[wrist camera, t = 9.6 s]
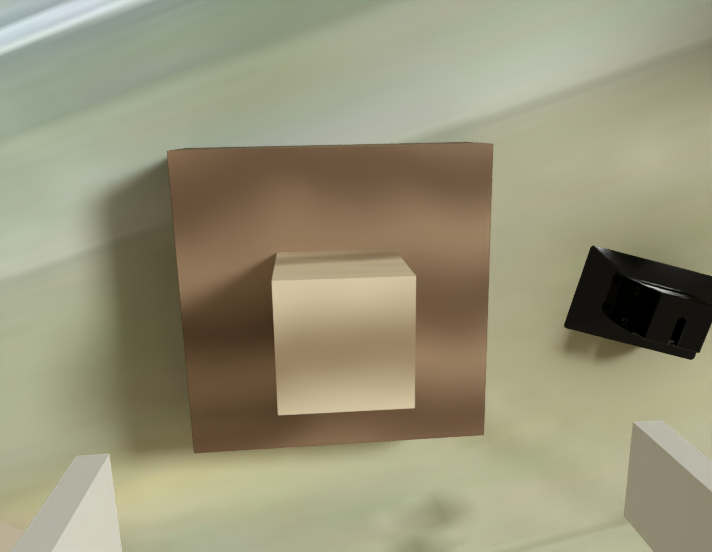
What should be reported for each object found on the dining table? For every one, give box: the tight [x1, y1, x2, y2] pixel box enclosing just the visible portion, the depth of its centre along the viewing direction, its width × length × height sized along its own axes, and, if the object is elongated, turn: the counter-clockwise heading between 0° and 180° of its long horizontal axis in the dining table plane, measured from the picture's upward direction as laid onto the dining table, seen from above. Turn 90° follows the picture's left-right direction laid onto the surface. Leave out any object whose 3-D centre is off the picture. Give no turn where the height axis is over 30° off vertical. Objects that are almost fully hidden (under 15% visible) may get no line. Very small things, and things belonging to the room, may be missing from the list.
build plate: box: [564, 246, 712, 360], centre depth 37 cm, size 12×7×5 cm, turn 75°
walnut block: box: [167, 142, 493, 453], centre depth 34 cm, size 16×16×5 cm
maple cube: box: [272, 249, 416, 415], centre depth 29 cm, size 6×6×6 cm
